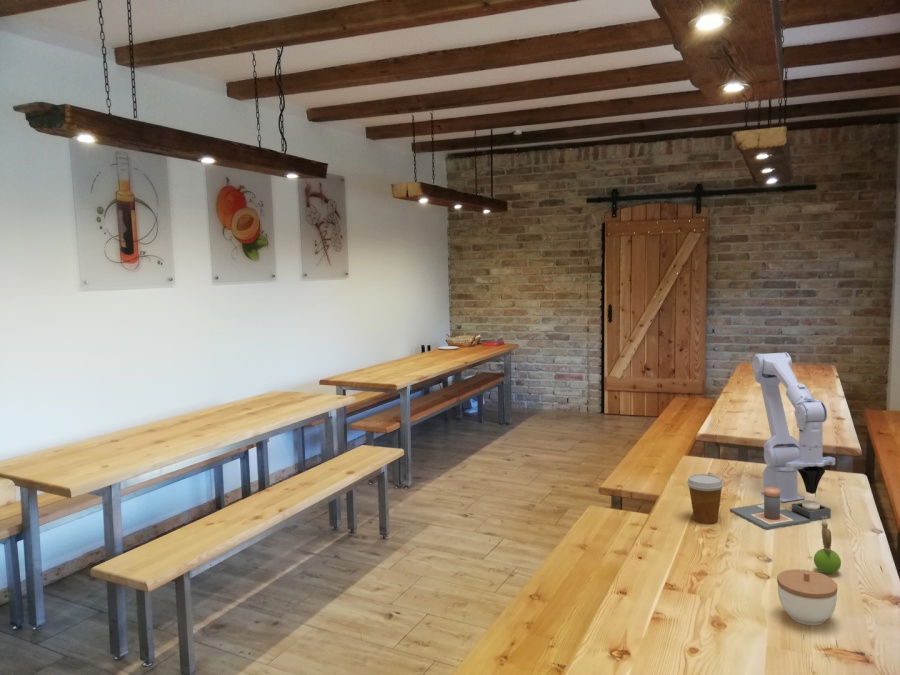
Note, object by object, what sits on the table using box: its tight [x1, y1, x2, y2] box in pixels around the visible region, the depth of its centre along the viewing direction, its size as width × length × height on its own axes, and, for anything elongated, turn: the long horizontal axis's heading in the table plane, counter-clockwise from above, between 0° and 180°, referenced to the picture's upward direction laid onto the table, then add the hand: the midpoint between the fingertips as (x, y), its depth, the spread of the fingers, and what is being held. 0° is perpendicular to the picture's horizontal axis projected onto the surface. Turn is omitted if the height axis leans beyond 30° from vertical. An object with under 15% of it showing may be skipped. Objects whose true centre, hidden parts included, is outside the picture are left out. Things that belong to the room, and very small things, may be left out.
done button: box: [801, 500, 821, 511], centre depth 187 cm, size 4×4×2 cm
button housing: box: [791, 502, 832, 522], centre depth 188 cm, size 7×7×3 cm
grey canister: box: [762, 487, 781, 520], centre depth 185 cm, size 4×4×8 cm
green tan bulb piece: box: [813, 516, 842, 574], centre depth 154 cm, size 5×6×12 cm
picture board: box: [729, 502, 811, 531], centre depth 188 cm, size 15×14×1 cm
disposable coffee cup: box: [686, 473, 724, 525], centre depth 188 cm, size 10×10×12 cm
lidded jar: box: [776, 569, 838, 626], centre depth 135 cm, size 11×11×9 cm
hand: (811, 492), depth 187 cm, fingers closed
